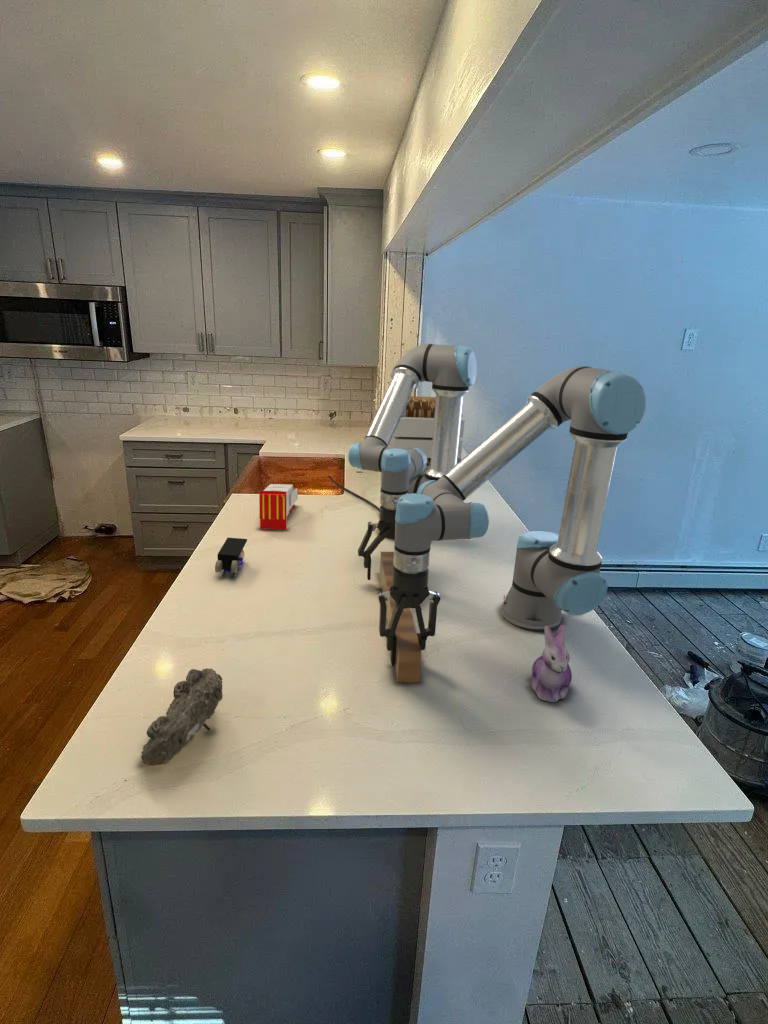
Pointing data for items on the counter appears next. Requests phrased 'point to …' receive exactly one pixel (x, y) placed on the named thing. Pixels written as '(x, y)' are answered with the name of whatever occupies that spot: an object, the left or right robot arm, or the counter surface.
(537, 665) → the figurine
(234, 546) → the black toy car
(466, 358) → the left robot arm
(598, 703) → the counter surface
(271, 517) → the toy
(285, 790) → the counter surface
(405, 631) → the bar
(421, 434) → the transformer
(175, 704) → the fossil
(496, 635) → the counter surface
